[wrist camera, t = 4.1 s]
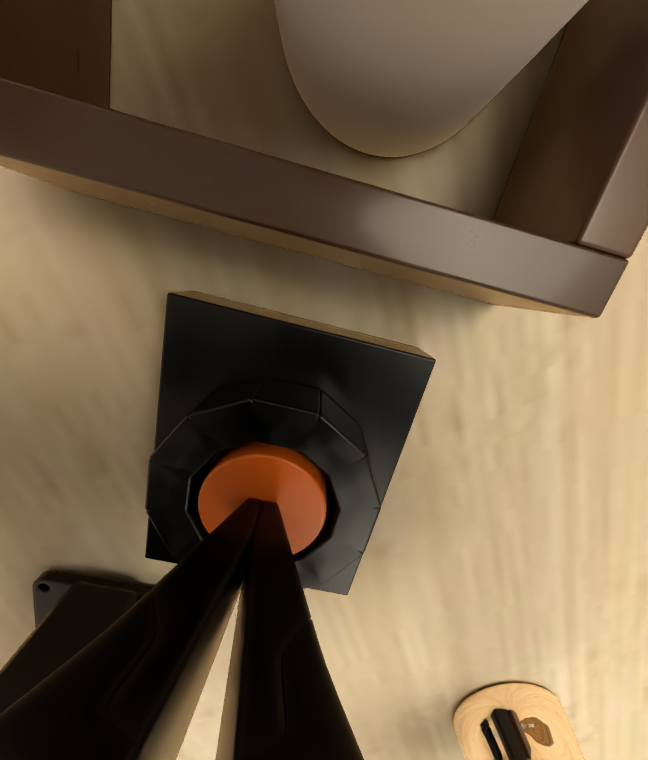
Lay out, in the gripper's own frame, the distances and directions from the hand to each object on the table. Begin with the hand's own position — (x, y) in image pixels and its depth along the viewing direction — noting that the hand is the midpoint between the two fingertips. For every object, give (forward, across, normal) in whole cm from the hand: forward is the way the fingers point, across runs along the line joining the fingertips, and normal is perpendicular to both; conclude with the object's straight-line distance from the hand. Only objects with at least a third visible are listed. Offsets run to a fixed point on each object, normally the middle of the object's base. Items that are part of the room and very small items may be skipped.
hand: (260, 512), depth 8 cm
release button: (+2, 0, 0) cm, 2 cm away
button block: (+4, 0, 0) cm, 4 cm away
